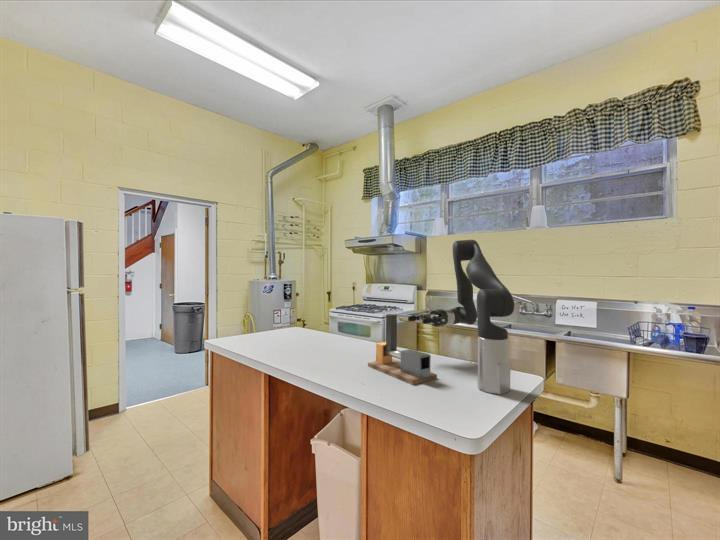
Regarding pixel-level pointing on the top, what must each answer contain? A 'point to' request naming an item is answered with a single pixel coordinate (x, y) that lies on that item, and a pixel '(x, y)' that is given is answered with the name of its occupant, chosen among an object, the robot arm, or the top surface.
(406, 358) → the guide sleeve
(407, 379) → the base board
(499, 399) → the top surface
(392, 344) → the sliding bolt
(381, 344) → the socket block
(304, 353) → the top surface
